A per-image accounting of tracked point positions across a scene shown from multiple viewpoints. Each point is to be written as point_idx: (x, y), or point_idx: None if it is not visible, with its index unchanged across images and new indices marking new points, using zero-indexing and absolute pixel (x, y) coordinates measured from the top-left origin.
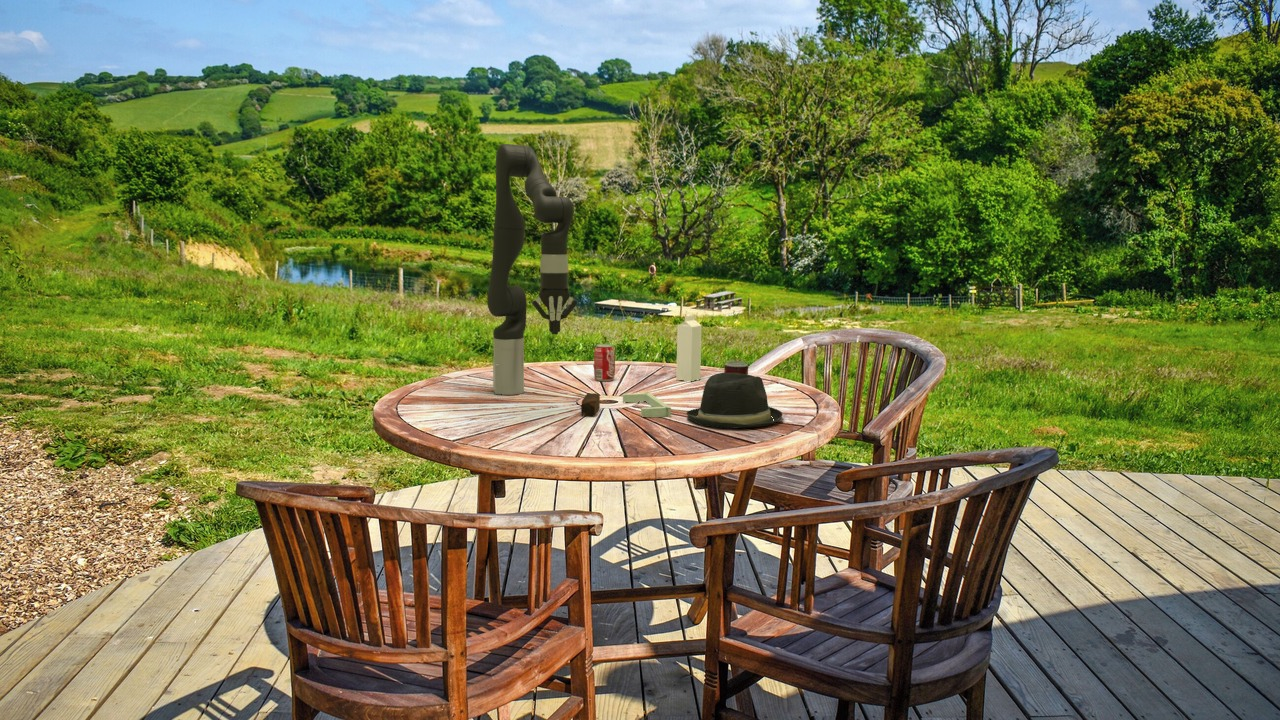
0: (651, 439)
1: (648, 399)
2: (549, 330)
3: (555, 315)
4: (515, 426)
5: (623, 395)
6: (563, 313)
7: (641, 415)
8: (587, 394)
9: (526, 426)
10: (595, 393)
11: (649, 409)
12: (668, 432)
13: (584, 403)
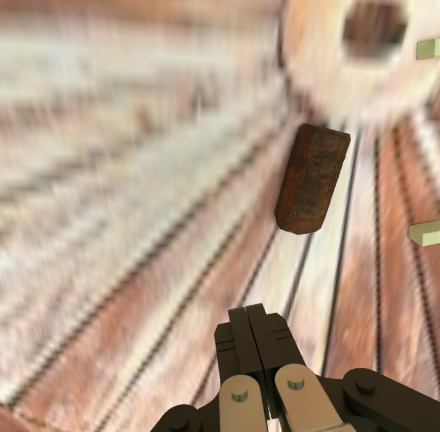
0: None
1: None
2: (216, 337)
3: (289, 412)
4: (118, 307)
5: (432, 48)
6: (374, 428)
7: (411, 232)
8: (313, 151)
9: (143, 307)
10: (340, 136)
11: (438, 241)
12: (417, 345)
13: (290, 231)
